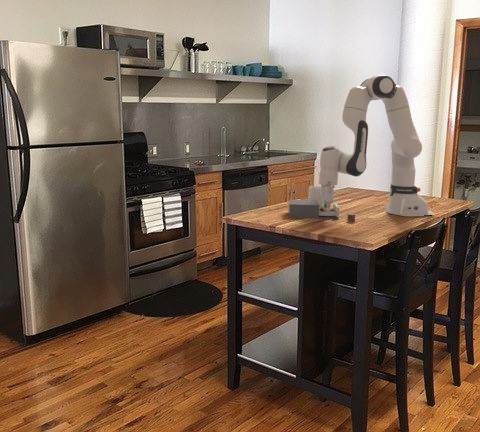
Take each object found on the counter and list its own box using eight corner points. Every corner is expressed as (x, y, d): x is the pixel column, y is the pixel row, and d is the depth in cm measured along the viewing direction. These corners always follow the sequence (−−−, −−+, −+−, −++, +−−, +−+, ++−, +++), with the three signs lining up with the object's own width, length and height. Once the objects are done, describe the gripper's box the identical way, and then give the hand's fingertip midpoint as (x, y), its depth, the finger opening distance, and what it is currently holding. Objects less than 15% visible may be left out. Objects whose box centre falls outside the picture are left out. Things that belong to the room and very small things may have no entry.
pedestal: (353, 220, 252) (354, 213, 251) (354, 222, 249) (355, 214, 248) (347, 220, 252) (347, 213, 252) (348, 222, 249) (348, 214, 249)
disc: (332, 211, 264) (332, 207, 264) (333, 213, 259) (333, 209, 258) (319, 210, 265) (320, 206, 264) (320, 213, 259) (321, 209, 258)
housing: (335, 213, 268) (335, 201, 267) (338, 219, 255) (339, 205, 254) (288, 212, 269) (288, 199, 268) (289, 217, 257) (289, 204, 255)
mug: (318, 210, 274) (319, 189, 272) (304, 208, 281) (305, 187, 278) (332, 208, 283) (333, 187, 280) (318, 205, 289) (319, 185, 287)
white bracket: (336, 211, 268) (337, 202, 267) (339, 217, 255) (340, 207, 254) (308, 210, 269) (308, 201, 268) (309, 216, 256) (310, 206, 255)
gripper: (337, 183, 248) (335, 213, 251) (332, 178, 268) (331, 205, 271) (323, 183, 248) (322, 212, 251) (319, 177, 268) (318, 205, 271)
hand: (326, 208), depth 261 cm, fingers open, 8 cm apart
